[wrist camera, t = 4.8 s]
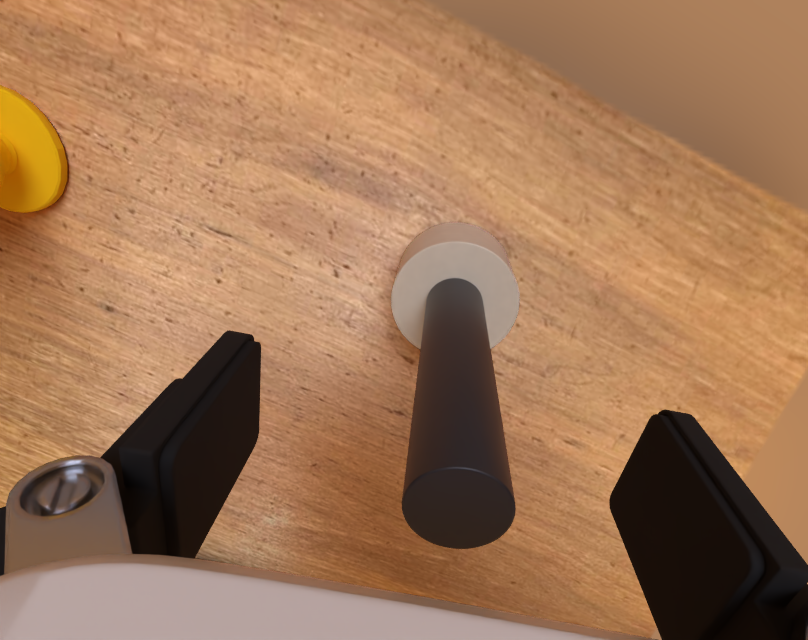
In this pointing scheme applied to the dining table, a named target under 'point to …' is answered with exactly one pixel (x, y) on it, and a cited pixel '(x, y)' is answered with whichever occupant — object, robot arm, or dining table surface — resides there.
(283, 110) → the dining table surface
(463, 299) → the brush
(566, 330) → the dining table surface
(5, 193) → the candle
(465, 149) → the dining table surface
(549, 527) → the dining table surface
